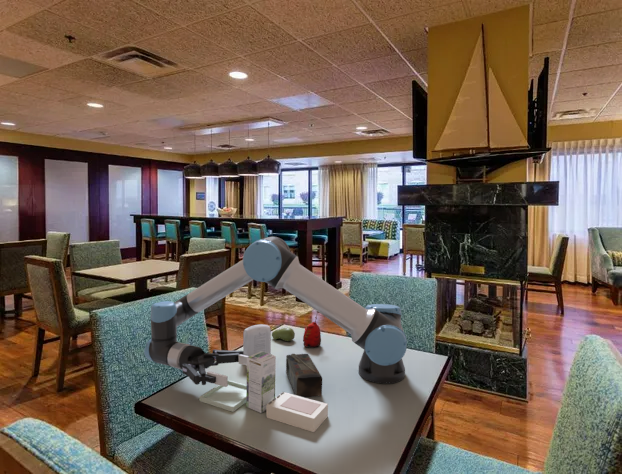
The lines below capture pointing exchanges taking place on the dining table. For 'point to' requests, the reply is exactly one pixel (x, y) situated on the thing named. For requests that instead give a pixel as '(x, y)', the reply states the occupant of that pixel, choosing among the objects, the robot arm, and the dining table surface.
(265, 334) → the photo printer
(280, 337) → the pear
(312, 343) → the red clay folk toy
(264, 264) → the robot arm
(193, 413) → the dining table surface
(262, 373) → the syrup box
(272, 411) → the pink-topped slotted block
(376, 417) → the dining table surface
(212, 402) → the tray
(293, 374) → the beverage carton
